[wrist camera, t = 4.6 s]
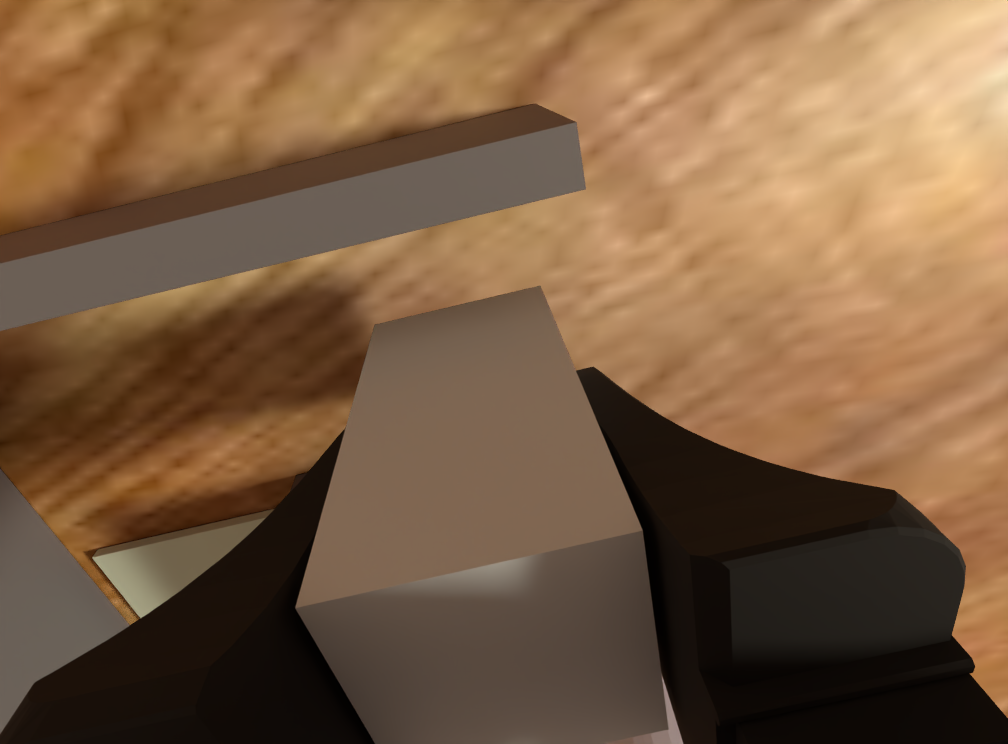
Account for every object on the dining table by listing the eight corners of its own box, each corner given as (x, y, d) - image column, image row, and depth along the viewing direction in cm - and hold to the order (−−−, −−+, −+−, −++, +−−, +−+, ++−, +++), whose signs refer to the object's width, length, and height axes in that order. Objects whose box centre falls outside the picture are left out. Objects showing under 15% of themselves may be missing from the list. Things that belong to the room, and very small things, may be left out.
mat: (348, 629, 24) (347, 637, 24) (189, 665, 24) (185, 674, 24) (282, 506, 21) (279, 514, 20) (97, 549, 21) (91, 557, 21)
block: (567, 424, 15) (668, 729, 8) (421, 457, 15) (400, 786, 8) (540, 285, 13) (642, 530, 6) (374, 324, 13) (294, 607, 6)
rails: (614, 561, 24) (657, 690, 19) (133, 669, 24) (54, 821, 19) (535, 104, 15) (576, 122, 10) (-201, 285, 16) (-490, 383, 11)
